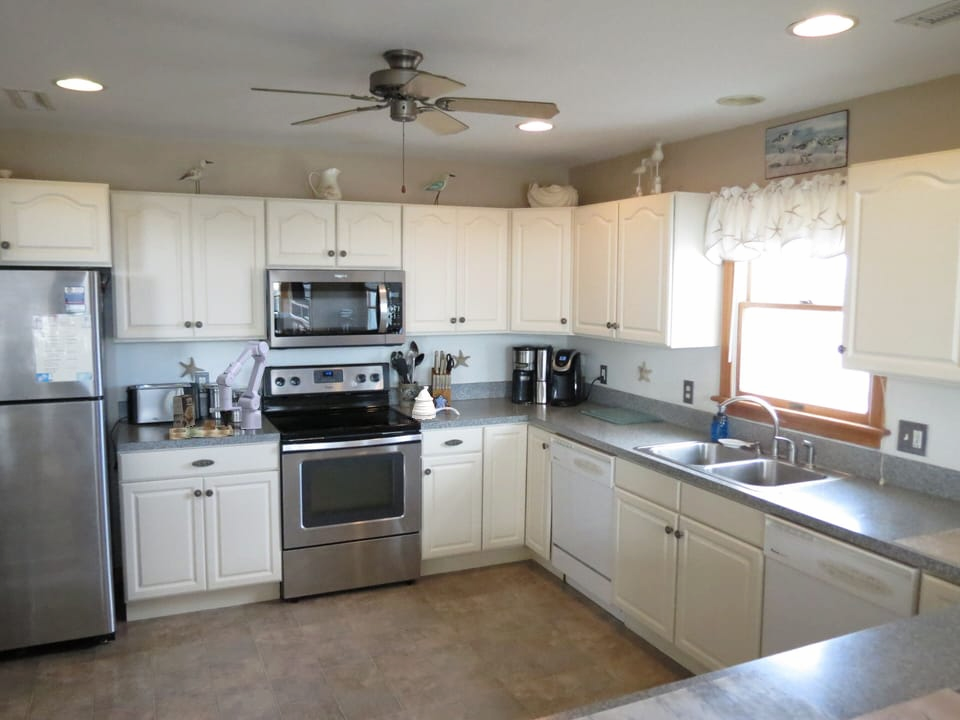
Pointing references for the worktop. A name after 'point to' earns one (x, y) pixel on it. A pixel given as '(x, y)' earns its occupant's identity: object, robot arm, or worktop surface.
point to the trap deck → (199, 432)
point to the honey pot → (424, 406)
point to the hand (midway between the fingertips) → (226, 426)
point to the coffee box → (183, 411)
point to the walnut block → (209, 424)
